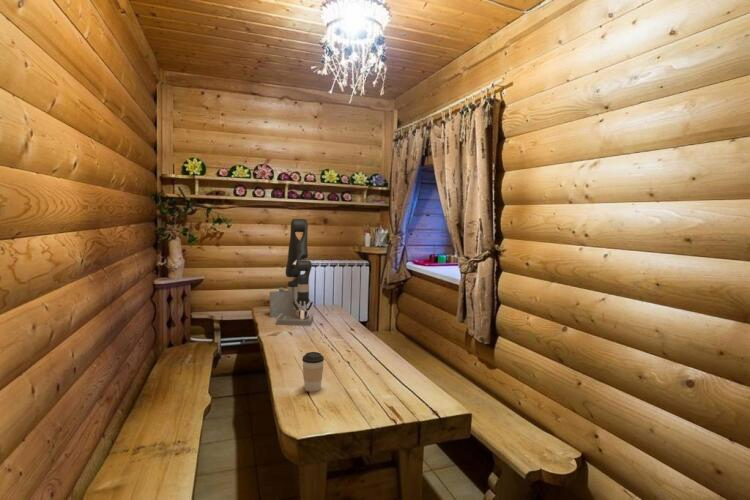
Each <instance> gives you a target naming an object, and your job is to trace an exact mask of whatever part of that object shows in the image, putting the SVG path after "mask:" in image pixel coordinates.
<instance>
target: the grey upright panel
mask: <svg viewBox="0 0 750 500" xmlns="http://www.w3.org/2000/svg"><path fill="white" fill-rule="evenodd" d="M281 313H283V316H294V310H293V291H288V290H285V288H284V287H278V290H277V291H269V318H277V317H278V316H279V315H280V314H281Z"/></svg>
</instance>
